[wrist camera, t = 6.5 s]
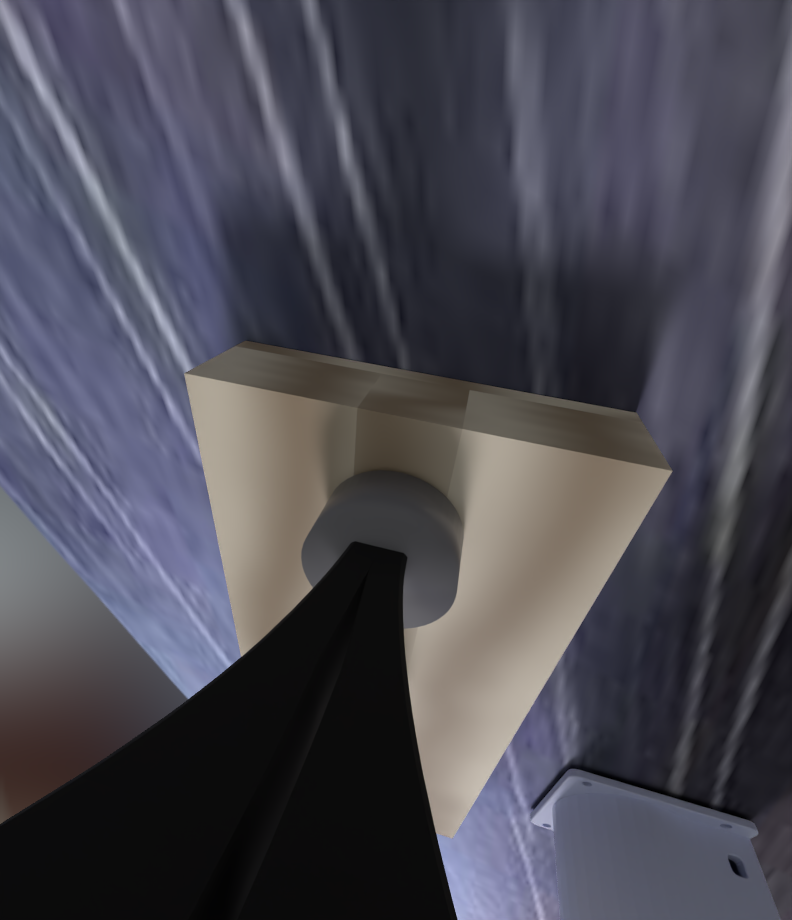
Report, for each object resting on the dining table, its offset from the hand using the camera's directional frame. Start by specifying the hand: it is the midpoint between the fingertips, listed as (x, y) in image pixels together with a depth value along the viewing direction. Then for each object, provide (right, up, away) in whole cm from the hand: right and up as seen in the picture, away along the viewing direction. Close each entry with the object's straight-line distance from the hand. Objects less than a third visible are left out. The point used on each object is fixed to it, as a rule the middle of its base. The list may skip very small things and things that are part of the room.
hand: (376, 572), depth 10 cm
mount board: (0, -6, +10) cm, 11 cm away
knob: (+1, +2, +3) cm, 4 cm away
